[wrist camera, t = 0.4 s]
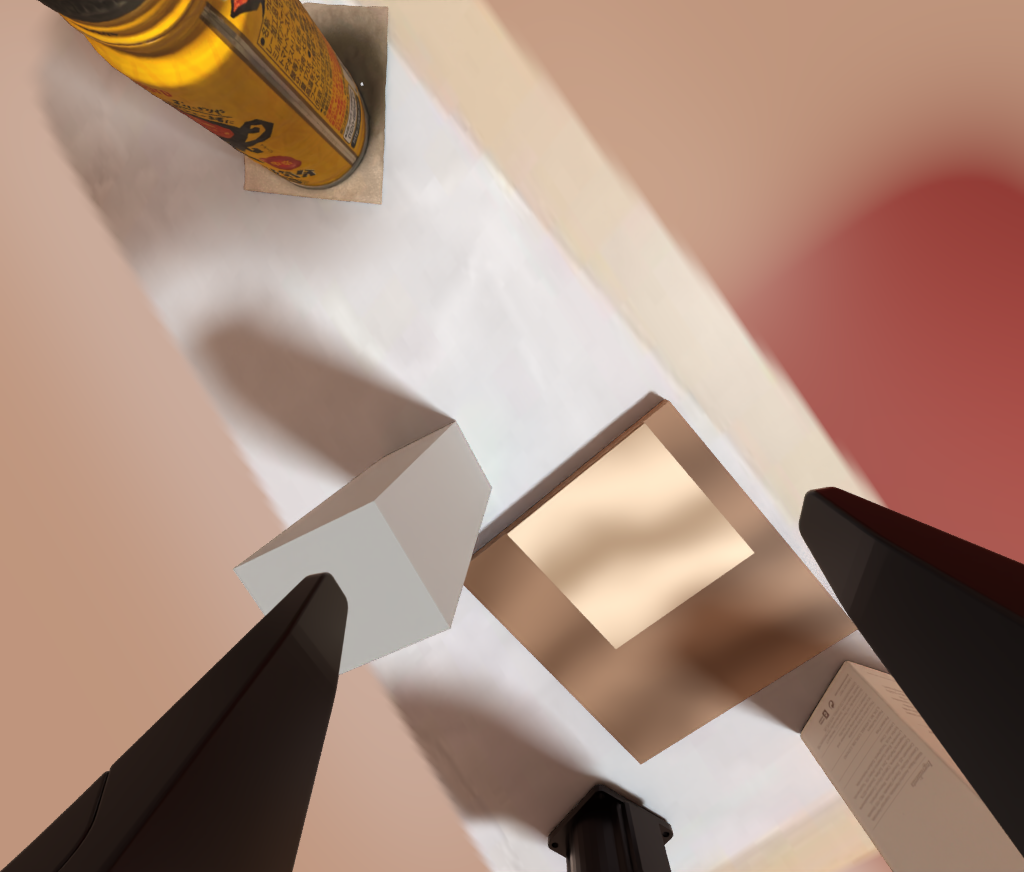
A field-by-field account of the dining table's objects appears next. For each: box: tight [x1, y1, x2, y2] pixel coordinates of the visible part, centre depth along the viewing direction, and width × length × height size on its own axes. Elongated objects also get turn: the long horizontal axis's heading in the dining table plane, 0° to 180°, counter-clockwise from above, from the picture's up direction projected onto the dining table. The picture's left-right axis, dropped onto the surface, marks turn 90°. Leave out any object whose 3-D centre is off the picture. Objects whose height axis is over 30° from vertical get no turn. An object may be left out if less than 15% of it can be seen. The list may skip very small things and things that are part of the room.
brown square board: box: [463, 399, 858, 764], centre depth 25 cm, size 18×16×1 cm
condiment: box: [38, 0, 388, 204], centre depth 15 cm, size 7×8×12 cm
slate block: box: [233, 421, 492, 675], centre depth 18 cm, size 4×5×12 cm
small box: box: [800, 661, 1024, 872], centre depth 20 cm, size 8×6×13 cm
